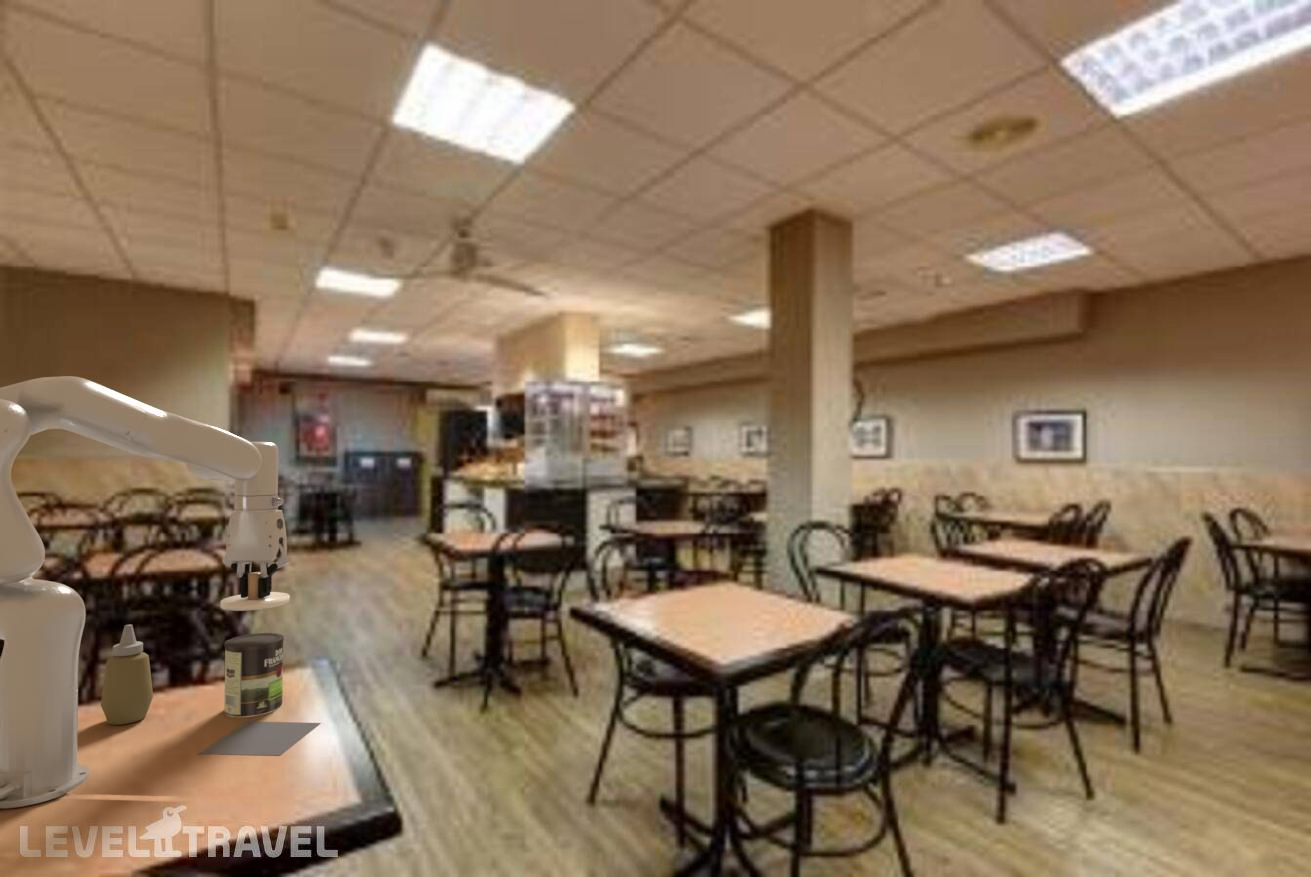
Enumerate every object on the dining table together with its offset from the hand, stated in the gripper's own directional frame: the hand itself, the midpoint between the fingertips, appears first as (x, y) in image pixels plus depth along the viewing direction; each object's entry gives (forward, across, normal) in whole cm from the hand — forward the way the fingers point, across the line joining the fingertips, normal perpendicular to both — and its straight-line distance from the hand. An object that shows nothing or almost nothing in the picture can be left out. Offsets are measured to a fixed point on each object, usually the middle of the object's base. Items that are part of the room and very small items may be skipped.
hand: (255, 595), depth 143 cm
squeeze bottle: (+23, +21, +6) cm, 32 cm away
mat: (+23, -10, +14) cm, 28 cm away
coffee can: (+23, 0, 0) cm, 23 cm away
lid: (+2, 0, 0) cm, 2 cm away
